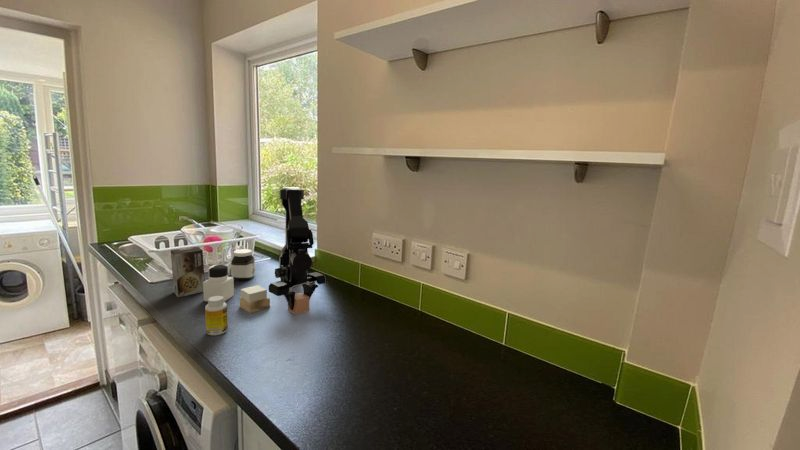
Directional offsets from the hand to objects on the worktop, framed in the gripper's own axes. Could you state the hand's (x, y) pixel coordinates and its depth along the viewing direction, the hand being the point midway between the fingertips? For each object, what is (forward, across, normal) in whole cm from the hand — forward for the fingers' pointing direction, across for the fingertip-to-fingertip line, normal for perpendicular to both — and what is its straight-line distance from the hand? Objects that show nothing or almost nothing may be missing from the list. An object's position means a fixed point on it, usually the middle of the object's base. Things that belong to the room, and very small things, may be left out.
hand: (298, 307), depth 118 cm
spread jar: (+1, -2, -44) cm, 45 cm away
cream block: (-2, +9, -13) cm, 16 cm away
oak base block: (+1, +9, -12) cm, 15 cm away
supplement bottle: (+1, +25, -4) cm, 25 cm away
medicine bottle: (+1, +14, -28) cm, 31 cm away
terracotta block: (+1, 0, 0) cm, 1 cm away
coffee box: (+1, +19, -40) cm, 45 cm away
